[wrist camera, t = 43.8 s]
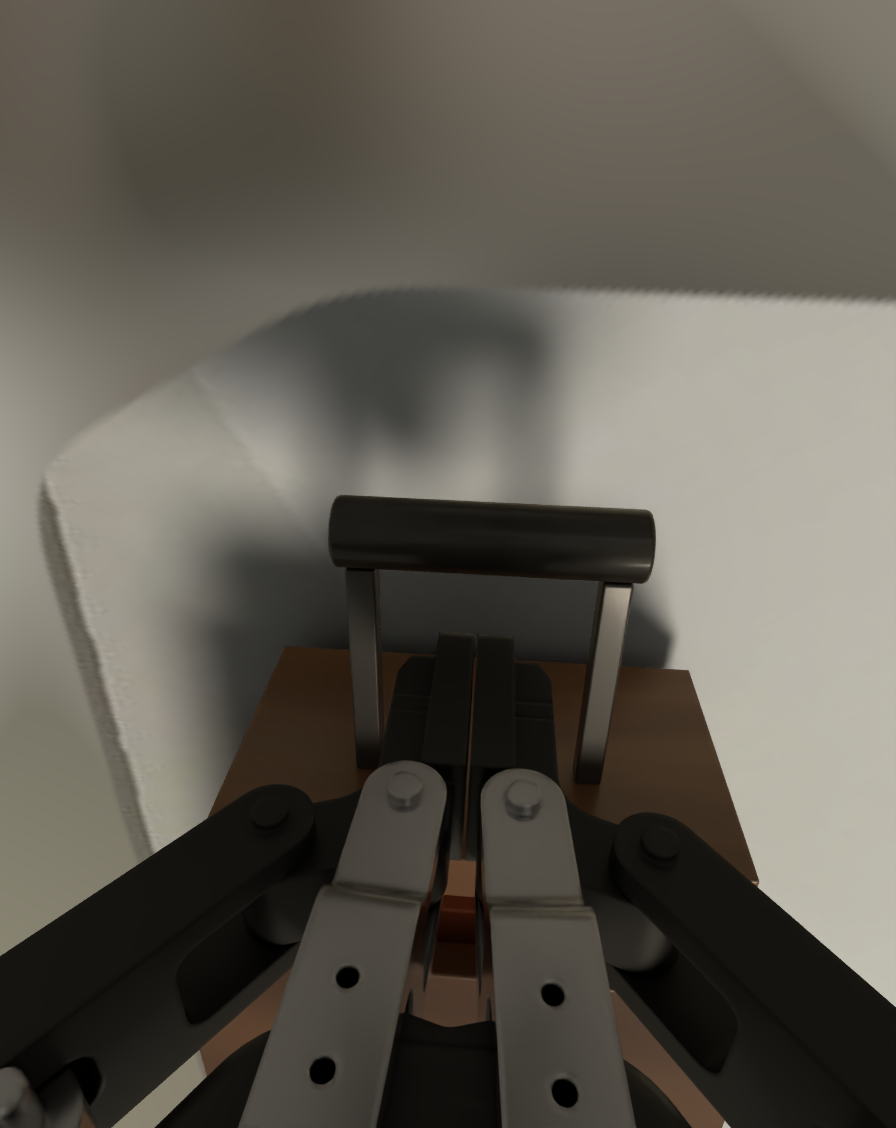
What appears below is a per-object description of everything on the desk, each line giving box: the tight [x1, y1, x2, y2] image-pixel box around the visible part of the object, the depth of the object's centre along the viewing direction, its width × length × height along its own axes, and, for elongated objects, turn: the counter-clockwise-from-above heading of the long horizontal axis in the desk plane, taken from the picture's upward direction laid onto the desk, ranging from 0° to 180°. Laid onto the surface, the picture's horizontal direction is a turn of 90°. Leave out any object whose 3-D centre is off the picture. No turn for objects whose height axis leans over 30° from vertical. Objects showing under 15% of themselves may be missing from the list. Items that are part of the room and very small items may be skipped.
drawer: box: [207, 495, 759, 897], centre depth 20 cm, size 20×11×7 cm, turn 179°
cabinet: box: [200, 941, 725, 1128], centre depth 23 cm, size 15×13×9 cm
